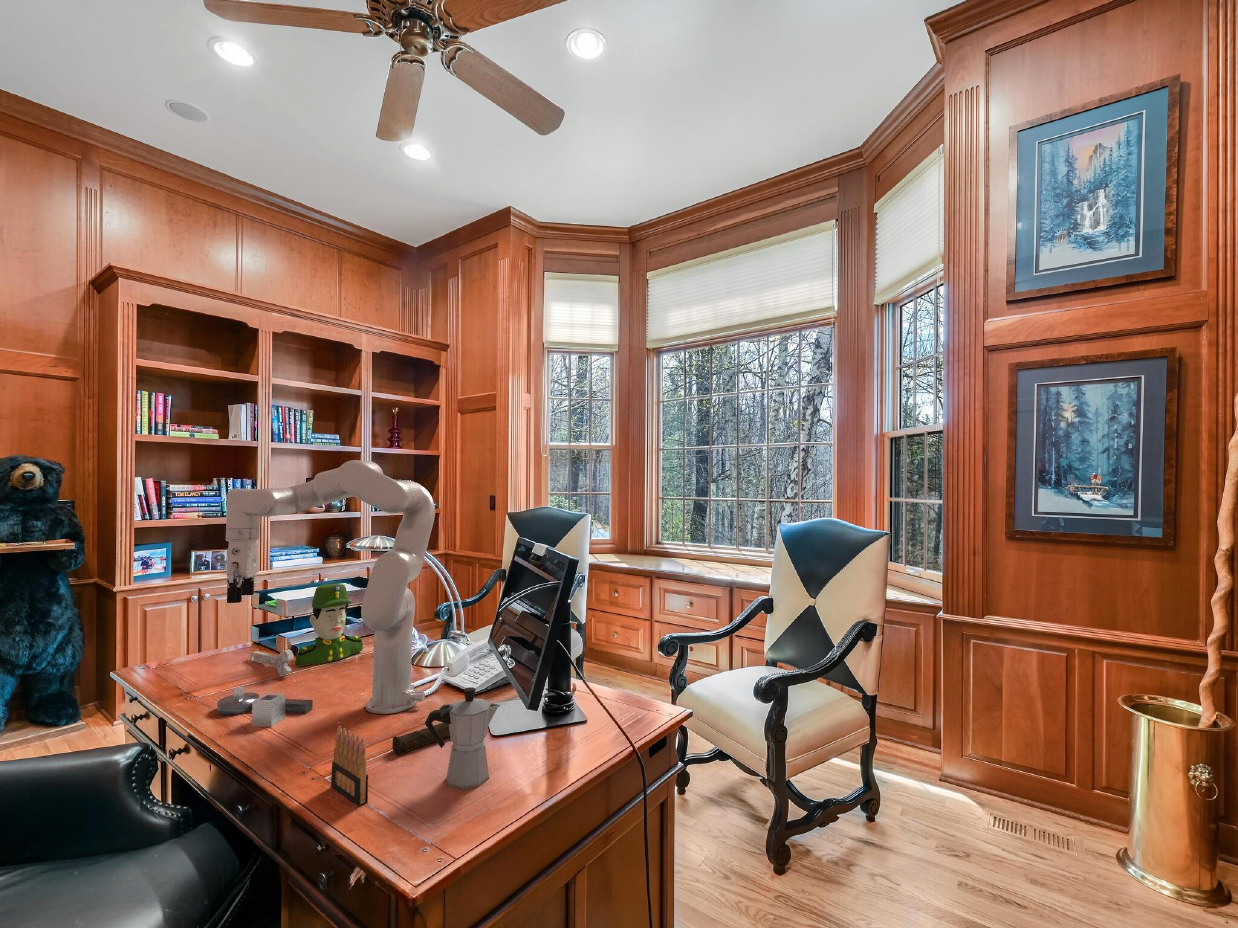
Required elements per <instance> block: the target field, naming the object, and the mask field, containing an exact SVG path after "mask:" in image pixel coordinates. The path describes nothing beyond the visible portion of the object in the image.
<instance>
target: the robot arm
mask: <svg viewBox="0 0 1238 928" xmlns="http://www.w3.org/2000/svg"><path fill="white" fill-rule="evenodd" d="M226 495H227V497H226V516H225V517H226V519H225V522H226V524H225V525H226V526H225V541H226V542H228V547H227V559H226V577H227V580H226V582H227V584H226V603H227V604H238V603H239V604H240V603H241V602H242V601H243V600H242V598H243V597H244V596H253V595H254V593H255V575H257V574H258V572H259V546H258V540H260V528H261V527H260V526H261V523H260V522H261V517H265V518H266V517H267V518H270V517H276V516H277V517H278V516H285V515H287V516H288V515H292V514H296V513H299V512H304V511H306V510H310V509H315V508H317V507H320V506H324V505H328V504H331V503H335V502H338V501H341V500H345V499H348V498H351V497H354V498H356V499H358V500H360V501H362V502H364V503H366V504H368V505H369V506H372V507H373V508H376V509H377V510H379V511H381V512H384V513H387V514H399V513H400V514H401V513H402V519H401V521H400V523H399V525H398V528H397V531H396V535H395V538H394V540H393V545H392V547H391V549H390V550H388V551H387V552H384V553H382V554H381V555H380V556H379V557H378V558H377V560H376V561H375V562H374V564H373V566H372V569H371V572H370V575H369V578H368V583H367V586H366V589H365V592H364V596H363V598H362V599H363V600H362V604H361V610H360V613H361V619H362V622H363V624H364V626H366V627H367V628H369V629H370V630H373V631H374V636H373V656H372V657H373V661H372V666H373V667H372V689H371V691H372V696H371V698H369V699H368V700H367V701H366V702H365V709H366V711H368V712H369V713H372V714H379V715H386V714H387V715H388V714H390V715H391V714H395V713H400V712H404V711H406V710H409V709H411V708H413V707H414V706H415V705H416V703H417V702H424V701H425V699H426V693H425V691H424V690H416V689H415V684H412V679H411V678H412V653H413V652H412V650H413V649H412V647H413V646H412V645H413V626H414V621H415V619H414V618H415V613H416V598H415V596H414V593H413V592H412V590H411V589H410V588H409V587H408V584H409V583H410V582H413V581H414V580H415V579H417V578H418V576H419V575H420V573H421V571H422V569H423V564H424V560H425V558H426V557H425V556H426V552H427V549H428V546H429V541H430V538H431V533H432V529H433V526H434V522H435V518H436V517H435V516H436V505H435V502H434V499H433V497H432V495H431V494H430V492H429V491H428V489H426V488H425V487H424V486H422V484H420V483H418V482H415V481H414V480H396V479H393V478H391V477H390V476H388V475H385V474H384V471H383V470H382V468H381V467H380V465H378V464H377V463H375V462H374V461H370V460H358V459H352V460H348V461H346V462H343V464H341V465H340V467H337V468H333V469H330V470H325V471H322V472H318V473H317V474H315V476H314V478H313V479H311V480H309V481H307V482H304V483H300V484H296V485H293V486H292V485H291V486H287V487H272V488H270V487H269V488H260V489H259V488H258V489H256V488H232V489H230V490H229V491H228V492H227V494H226Z"/></svg>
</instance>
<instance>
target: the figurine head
mask: <svg viewBox="0 0 1238 928" xmlns="http://www.w3.org/2000/svg"><path fill="white" fill-rule="evenodd" d="M348 595H349V594H348V590H347V588H346V585H345V584H343V583H327V584H326V583H325V584H320V585H318V586H317V587H316V588H315V591H314V594H313V599H312V602H311V608H312V614H311V616H309V623H310V624H311V626H312V627H313V630H314V631H315V633H316V634H318V637H314V639H315V640H314V641H315V643H313V644H309V645H305V646H302V647H300V648H299V649H298V651H297V654H296V656H295V663H294V666H297V667H302V666H309V665H313V664H315V665H317V664H326V663H330V662H334V661H339V660H343V659H346V658H348V657H349V656H352V655H356V654H358V653H360V652H362V651H363V648H364V646H363V645H364V643H363V640H362V638H361V636H359V635H351V636H346V635H345V633H344V629H345V625H346V619H347V613H348V607H349V605H350V604H352V601H351V600H349V596H348Z"/></svg>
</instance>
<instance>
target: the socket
mask: <svg viewBox="0 0 1238 928" xmlns="http://www.w3.org/2000/svg"><path fill="white" fill-rule="evenodd" d="M285 699H286V693H264V694H262V695H261V696H259V698H257V699H255V700H254V701H252V711H251V727H264V728H266V727H267V728H272V727H274V726H275V725H277V724H278V723H280V722H281V721H283V720H285V718H286V716H285V715H286V713H285Z"/></svg>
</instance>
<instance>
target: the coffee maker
mask: <svg viewBox="0 0 1238 928" xmlns="http://www.w3.org/2000/svg"><path fill="white" fill-rule="evenodd" d="M463 694H464V699H461V700H458V701H454V702H451V703H450V704H449V703H447V704H443V705H442V706H440V708H439V709H435V710H432V711H431V712H429V714H428V715H427V717H426V720H425V722H424V725H425V726H426V728H428V729H429V731H430V732H431V734H432V735H433V737H434V738H435V740H436V741H435V742H436V743H437V745H438V746H439V748H440V749H443V747H444V746H445V745H446V742H445V740H444V738H441V736H440V735H439V733H438V732H437V730H436V729H435V727H434V725H433V722H435V721H436V722H440V723H447V724H449V731H450V737H449V738H450V740H449V741H451V742H452V745H451V749H450V755H449V761H448V766H447V773H446V783H447V786H448V787H450V788H455V789H457V790H467V789H468V790H469V789H472V788H473V789H474V788H477V787H478V786H479V787H481V785H483V784H485V783H486V782H487V781H488V780H490V773H489V765H488V759H487V758H488V756H487V749H486V744H485V738H486V736H487V735H488V730H489V725H490V723H491V721H492V719H493V717H494V716H495V713H496V712H497V711H498V710H497V709H498V708H500V707H501V704H496V703H492V702H489V701H487V700H485V699H484V698H475V694H476V688H475V687H471V686H469V687H466V688H464V690H463ZM479 787H478V788H479Z"/></svg>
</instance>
